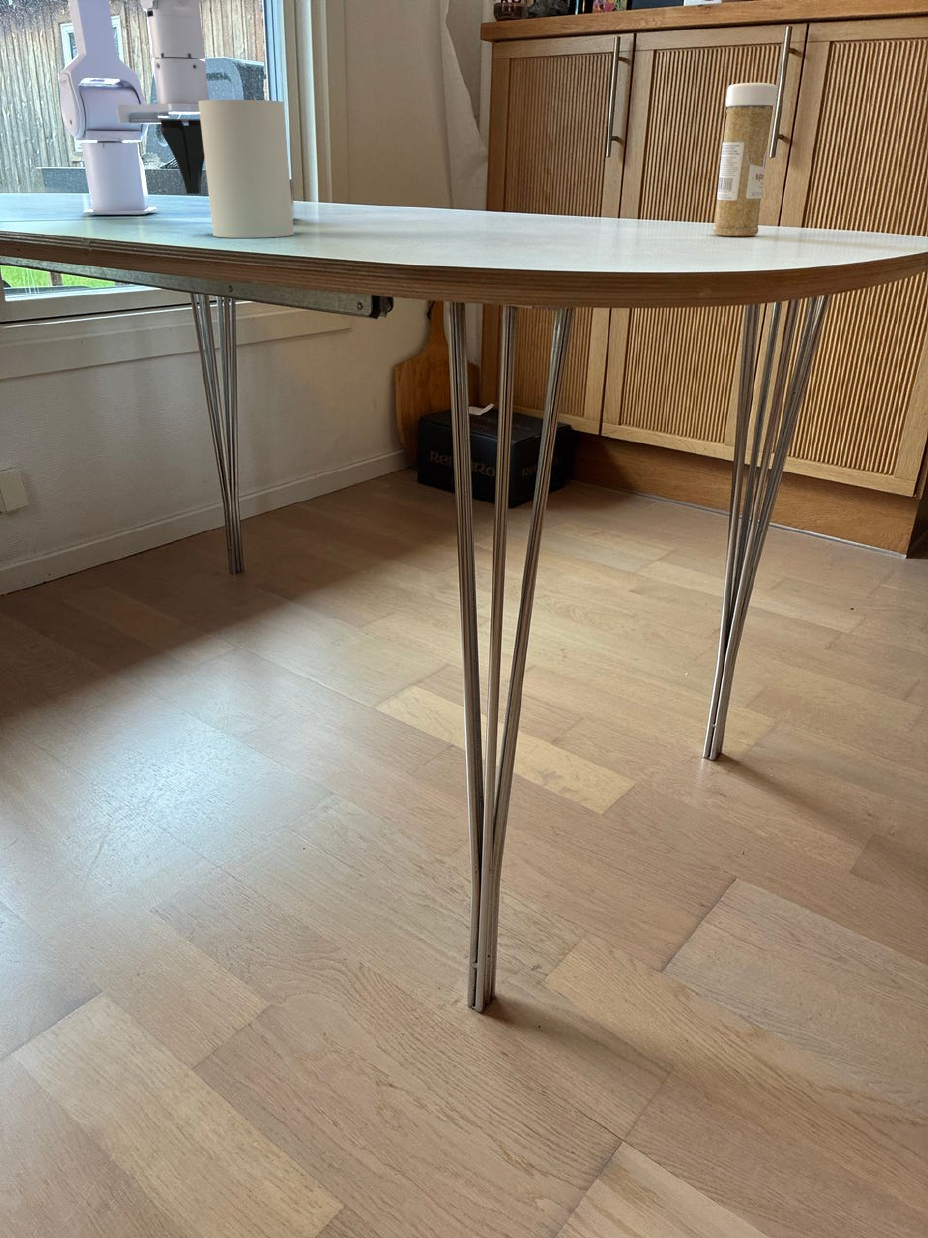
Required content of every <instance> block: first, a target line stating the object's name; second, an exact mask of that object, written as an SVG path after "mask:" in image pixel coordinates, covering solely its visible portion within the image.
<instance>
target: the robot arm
mask: <svg viewBox="0 0 928 1238" xmlns="http://www.w3.org/2000/svg"><path fill="white" fill-rule="evenodd" d="M109 1H110V0H67V3H68V7H69V14H70V19H71V20H70V21H71V25H72V30H73V36H74V41H75V43H74V44H75V49H76V56H75V57H74V58H73V59H72V60H71V61H70V62H69V63H68V64H67V65H66V66H65V67H64V68H63V69H62V70H61V71H60V73H59V76H58V77H59V78H58V80H59V90H60V97H59V98H60V99H59V102H60V103H59V104H60V112H61V117H62V120H63V124H64V126H65V129H66V130H67V131H68V133H70V135H71V136H72V137H73V138H75V141H76V142H81V143H80V145H81V151H82V157H83V164H84V171H85V177H86V182H87V189H88V194H89V201H90V207H91V209H88V210H84V211H82V214H83V215H85V216H87V215H88V216H98V215H99V216H101V215H102V216H105V215H106V216H107V215H111V216H112V215H119V216H121V215H146V214H150V213H153V212H157V211H158V209H157V207H150V203H149V196H148V188H147V181H146V180H147V179H146V174H145V166H144V162H143V160H142V158H141V156H140V149H139V142H143V138H144V137H145V135H146V134H147V132H148V128H149V125H152V124H153V125H155V124H156V125H159V124H160V125H161V126H160V128H159V130H160V132H161V135H162V137H163V138H164V140H165V142H166V144H167V145H168V147H169V149H170V151H171V153H172V155H173V158H174V160H175V162H176V164H177V167H178V169H179V172H180V174H181V175H180V176H181V177H182V181H183V184H184V189H185V192H186V194H187V195H198V194H202V176H203V170H204V169H203V168H204V164H205V156H204V147H203V138H202V129H201V120H200V118H170V114H171V115H200V111H199V102H198V101H204V100H210V96H209V86H208V77H207V68H206V58H205V57H206V56H205V48H204V47H205V46H204V38H203V37H204V36H203V29H202V17H201V8H200V0H139V5H141V10H143V11H144V12H146V13H145V14H146V20H147V27H148V28H147V29H148V34H149V43H150V44H149V45H150V52H151V59H152V60H151V61H152V70H153V76H154V84H155V92H156V100H157V103H147V101H146V99H145V97H144V94H143V91H142V86H141V81H140V79H139V75H138V73H137V72H136V71H134V70H133V69H132V68H131V67H130V66H129V65H127V63H125V62H124V61H123V60H121V59H120V57H119V56H118V51H117V45H116V44H117V43H116V40H115V33H114V27H113V19H112V13H111V12H112V11H111V6H110V2H109ZM81 83H92V84H81ZM94 84H96V85H94ZM97 84H111V85H97Z"/></svg>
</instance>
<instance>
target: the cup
mask: <svg viewBox="0 0 928 1238" xmlns="http://www.w3.org/2000/svg"><path fill="white" fill-rule="evenodd" d="M198 102H199V111H200V114H199V119H200V120H201V129H202V138H203V147H204V156H205V158H204V164H205V172H206V183H207V192H208V201H209V210H210V218H211V227H212V236H213V237H218V238H235V239H236V238H237V239H242V238H243V239H255V238H256V239H257V238H258V239H259V238H260V239H261V238H279V237H288V236H293V235H294V219H292V206H291V192H290V179H291V178H290V169H289V154H288V140H287V127H286V126H287V125H286V115H285V102H284V101H280V100H262V99H209V100H204V101H198Z"/></svg>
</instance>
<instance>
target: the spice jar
mask: <svg viewBox="0 0 928 1238" xmlns="http://www.w3.org/2000/svg"><path fill="white" fill-rule="evenodd" d="M776 96H777V85H776V84H774V83H769V82H740V83H734V84H730V85H728V87H727V91H726V99H725V107H726V109H725V112H726V116H725V117H726V118H725V125H724V134H723V142H722V146H721V147H722V148H721V157H720V165H719V177H718V186H717V194H716V195H717V196H716V199H717V203H716V214H715V224H714V227H713V229H712V232H713V234H714V235H716V236H723V237H752V236H755V235H758V233H759V230H760V229H759V218H760V211H761V201H762V199H763V192H764V191H763V190H764V183H765V182H764V181H765V172H766V166H767V165H766V163H767V156H768V143H769V137H770V135H769V134H770V126H771V120H772V119H771V118H772V112H773V111H774V108H773V107H774V106H775V105H776Z"/></svg>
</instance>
